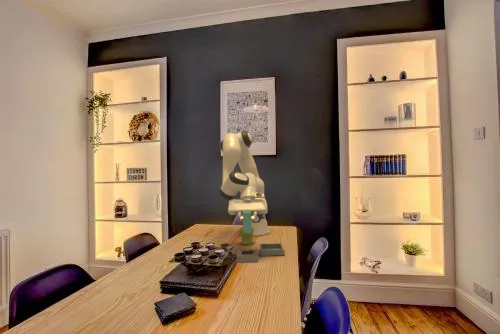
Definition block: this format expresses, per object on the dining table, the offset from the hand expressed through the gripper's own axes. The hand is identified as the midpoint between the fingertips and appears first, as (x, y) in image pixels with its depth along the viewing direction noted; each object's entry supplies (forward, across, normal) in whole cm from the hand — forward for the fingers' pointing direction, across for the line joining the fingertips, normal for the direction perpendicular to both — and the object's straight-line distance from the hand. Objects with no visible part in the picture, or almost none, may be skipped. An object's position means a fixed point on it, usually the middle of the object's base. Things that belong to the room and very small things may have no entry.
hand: (247, 220), depth 126 cm
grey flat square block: (+13, -1, +14) cm, 19 cm away
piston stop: (+4, 0, +5) cm, 6 cm away
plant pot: (-6, -4, +33) cm, 34 cm away
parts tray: (+6, +11, +21) cm, 24 cm away
